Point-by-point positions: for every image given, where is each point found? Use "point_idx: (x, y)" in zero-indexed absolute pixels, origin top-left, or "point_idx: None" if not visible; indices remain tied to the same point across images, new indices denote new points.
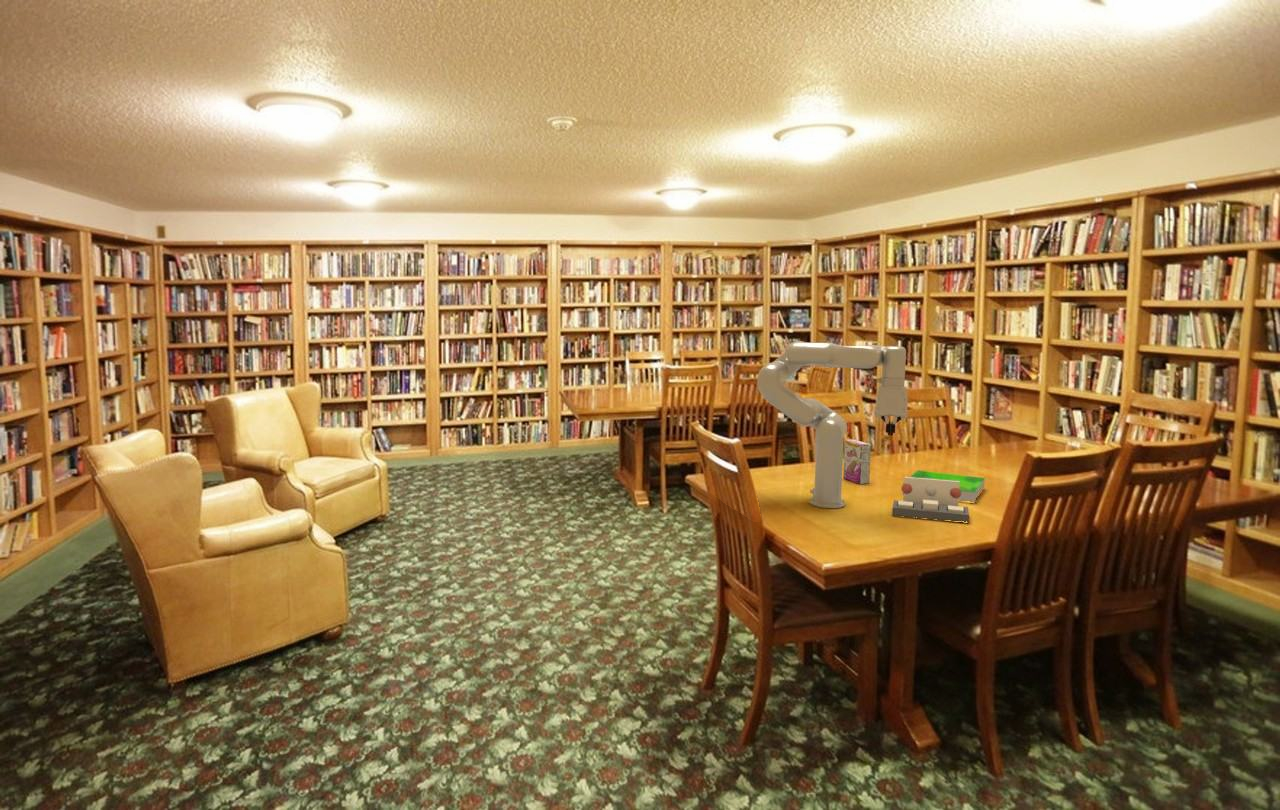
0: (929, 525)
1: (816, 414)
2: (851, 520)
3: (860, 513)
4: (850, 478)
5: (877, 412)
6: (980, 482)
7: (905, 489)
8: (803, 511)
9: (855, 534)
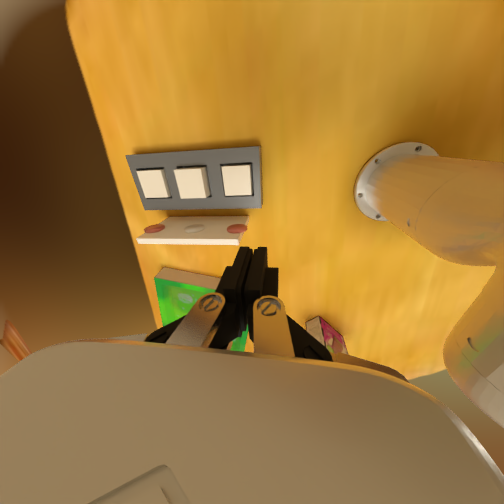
0: (187, 105)
1: None
2: (350, 52)
3: (324, 137)
4: (333, 330)
5: (448, 415)
6: (163, 321)
7: (239, 226)
8: (476, 84)
9: None
